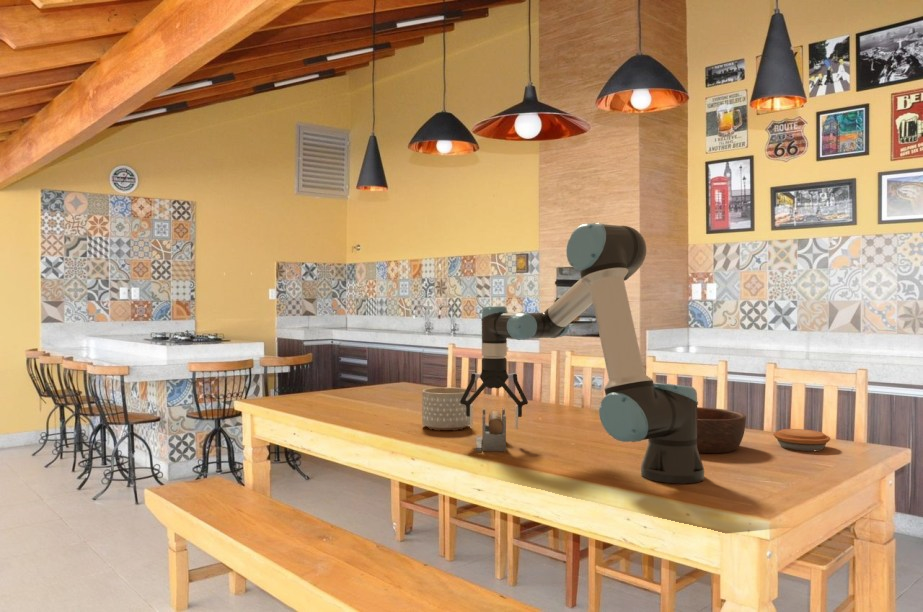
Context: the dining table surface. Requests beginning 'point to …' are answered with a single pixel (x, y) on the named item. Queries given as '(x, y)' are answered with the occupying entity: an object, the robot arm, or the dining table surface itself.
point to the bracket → (492, 437)
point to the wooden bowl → (719, 430)
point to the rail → (495, 422)
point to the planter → (444, 409)
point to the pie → (801, 439)
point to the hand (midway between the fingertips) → (493, 427)
